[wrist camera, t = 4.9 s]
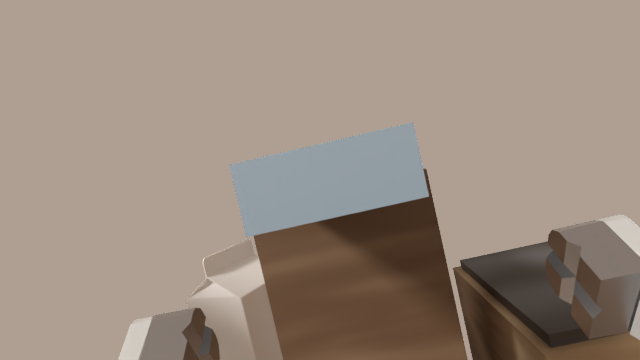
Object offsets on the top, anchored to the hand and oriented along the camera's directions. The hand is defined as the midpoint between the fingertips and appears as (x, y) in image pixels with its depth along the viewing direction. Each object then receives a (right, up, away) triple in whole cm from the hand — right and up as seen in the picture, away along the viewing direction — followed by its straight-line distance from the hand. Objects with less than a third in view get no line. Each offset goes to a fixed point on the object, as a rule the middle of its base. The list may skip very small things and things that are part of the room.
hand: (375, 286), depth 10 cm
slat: (-1, +2, +11) cm, 12 cm away
